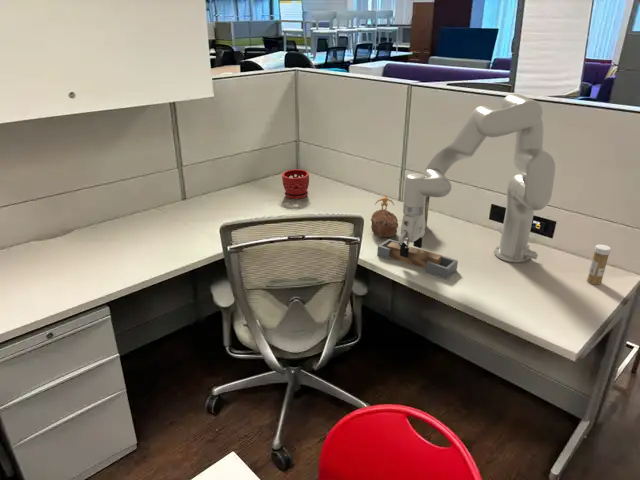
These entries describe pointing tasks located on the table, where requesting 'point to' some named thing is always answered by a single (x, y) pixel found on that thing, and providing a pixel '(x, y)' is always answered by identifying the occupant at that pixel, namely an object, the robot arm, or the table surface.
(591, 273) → the sprinkles bottle
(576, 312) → the table surface
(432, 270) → the end cap
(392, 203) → the figurine
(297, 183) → the plant pot
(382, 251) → the end cap
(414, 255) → the slat
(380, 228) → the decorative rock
